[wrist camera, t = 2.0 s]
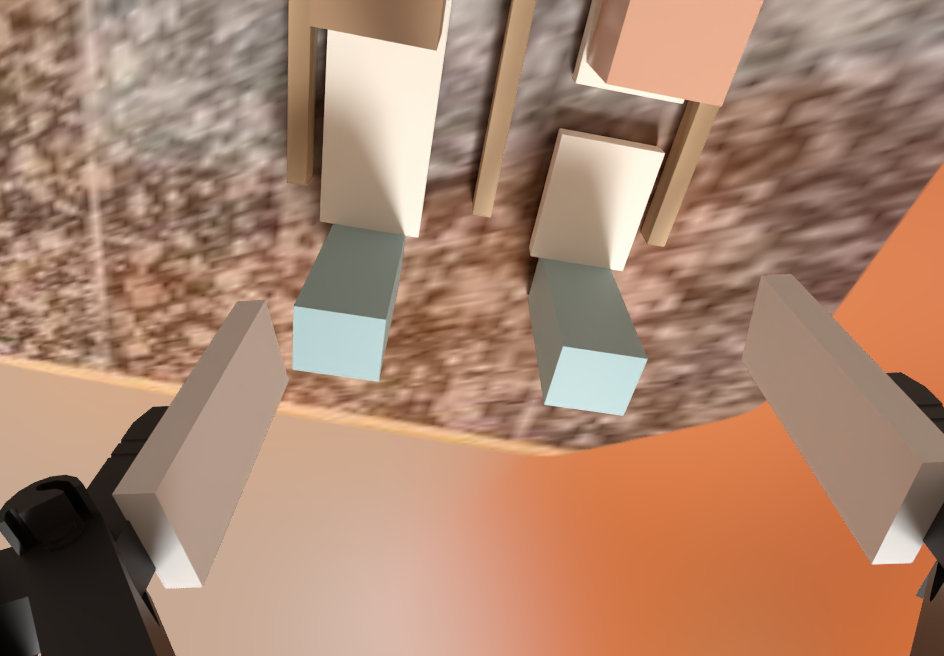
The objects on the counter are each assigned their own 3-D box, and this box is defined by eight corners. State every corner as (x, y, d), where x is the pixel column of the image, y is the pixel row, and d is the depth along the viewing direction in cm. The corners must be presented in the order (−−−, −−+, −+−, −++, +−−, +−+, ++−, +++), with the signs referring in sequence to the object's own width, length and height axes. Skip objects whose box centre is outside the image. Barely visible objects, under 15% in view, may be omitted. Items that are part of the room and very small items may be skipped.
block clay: (586, 62, 28) (606, 83, 24) (619, -61, 26) (647, -60, 22) (685, 81, 29) (721, 106, 25) (727, -37, 26) (776, -32, 22)
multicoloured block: (321, 266, 36) (276, 367, 27) (340, -136, 25) (275, -171, 17) (412, 280, 36) (394, 383, 28) (467, -108, 26) (465, -128, 17)
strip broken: (515, 297, 37) (529, 402, 29) (611, -75, 26) (675, -80, 18) (600, 310, 38) (638, 417, 29) (727, -50, 27) (842, -43, 19)
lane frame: (294, 172, 33) (286, 182, 32) (299, -145, 25) (290, -149, 24) (656, 234, 35) (664, 246, 34) (762, -42, 27) (776, -40, 26)
